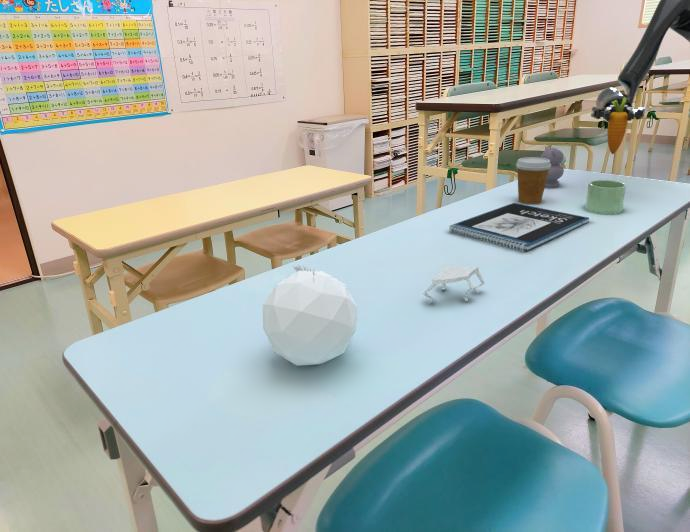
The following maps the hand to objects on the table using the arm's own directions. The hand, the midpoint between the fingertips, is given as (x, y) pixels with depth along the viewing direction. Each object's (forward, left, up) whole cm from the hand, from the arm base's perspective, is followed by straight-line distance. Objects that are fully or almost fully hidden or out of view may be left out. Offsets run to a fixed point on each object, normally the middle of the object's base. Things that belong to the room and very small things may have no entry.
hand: (619, 116), depth 138 cm
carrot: (-1, -3, -11) cm, 11 cm away
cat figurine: (+11, -20, -24) cm, 33 cm away
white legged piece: (+45, +65, -24) cm, 82 cm away
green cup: (+2, +7, -24) cm, 25 cm away
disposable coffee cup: (+20, -1, -24) cm, 31 cm away
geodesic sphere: (+66, +87, -24) cm, 112 cm away
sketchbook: (+27, +23, -24) cm, 43 cm away
